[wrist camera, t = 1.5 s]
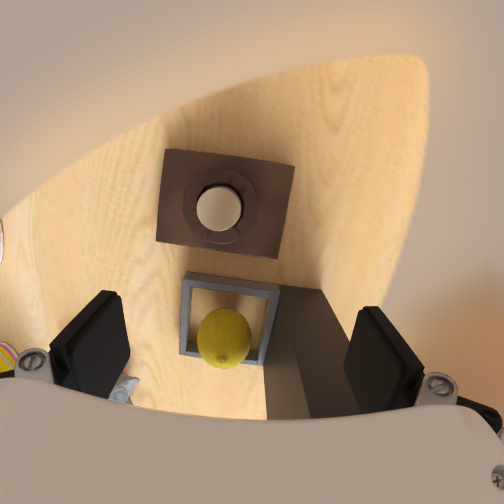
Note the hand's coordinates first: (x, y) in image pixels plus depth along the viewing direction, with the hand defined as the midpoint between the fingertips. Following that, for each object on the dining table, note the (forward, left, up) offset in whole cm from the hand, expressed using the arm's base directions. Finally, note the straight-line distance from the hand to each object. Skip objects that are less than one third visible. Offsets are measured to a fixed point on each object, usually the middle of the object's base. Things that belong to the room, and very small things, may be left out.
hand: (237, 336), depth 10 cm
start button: (-2, +2, -15) cm, 16 cm away
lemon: (0, -11, -19) cm, 22 cm away
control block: (-2, +2, -19) cm, 19 cm away
